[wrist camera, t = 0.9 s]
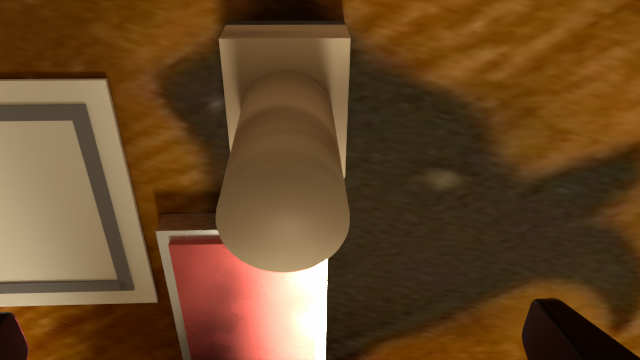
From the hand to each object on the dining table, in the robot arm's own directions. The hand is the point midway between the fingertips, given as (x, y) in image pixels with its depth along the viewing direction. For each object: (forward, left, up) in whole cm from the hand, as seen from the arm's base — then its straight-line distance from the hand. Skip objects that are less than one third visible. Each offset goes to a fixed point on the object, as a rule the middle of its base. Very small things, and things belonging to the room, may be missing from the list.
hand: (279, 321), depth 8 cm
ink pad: (-10, +2, -11) cm, 15 cm away
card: (-5, +11, -11) cm, 17 cm away
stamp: (0, 0, -11) cm, 11 cm away
